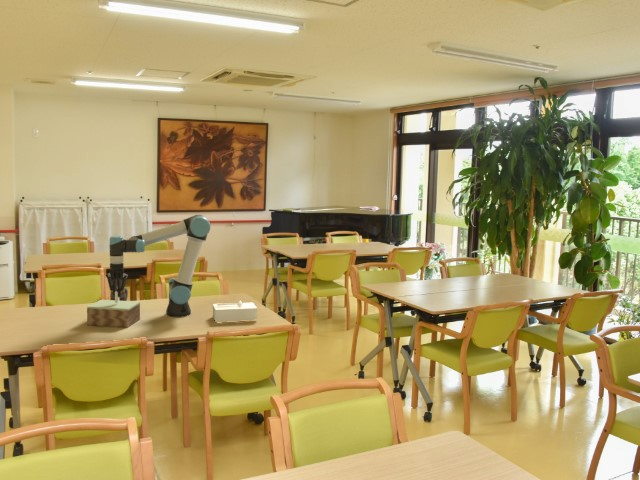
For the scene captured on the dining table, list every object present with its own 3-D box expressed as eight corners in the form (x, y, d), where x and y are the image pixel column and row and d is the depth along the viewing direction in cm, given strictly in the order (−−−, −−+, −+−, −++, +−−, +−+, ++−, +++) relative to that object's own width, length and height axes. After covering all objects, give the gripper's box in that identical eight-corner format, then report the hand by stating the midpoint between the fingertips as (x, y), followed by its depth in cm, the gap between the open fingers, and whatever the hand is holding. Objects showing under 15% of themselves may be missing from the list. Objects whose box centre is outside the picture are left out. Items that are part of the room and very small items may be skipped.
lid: (140, 303, 351) (140, 301, 351) (128, 310, 334) (128, 308, 334) (101, 301, 353) (101, 299, 353) (87, 308, 336) (87, 306, 336)
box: (140, 319, 353) (139, 303, 351) (127, 327, 335) (127, 310, 334) (101, 317, 355) (101, 301, 354) (87, 325, 337) (86, 308, 336)
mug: (121, 316, 359) (121, 292, 357) (105, 315, 361) (105, 291, 359) (134, 310, 374) (134, 287, 372) (119, 309, 376) (119, 286, 374)
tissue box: (256, 321, 357) (257, 304, 355) (215, 323, 350) (215, 306, 348) (252, 315, 371) (253, 298, 369) (212, 317, 363) (212, 300, 362)
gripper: (130, 262, 343) (130, 301, 346) (108, 261, 344) (109, 300, 347) (124, 264, 336) (125, 304, 339) (102, 263, 337) (103, 303, 340)
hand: (117, 302), depth 343 cm, fingers closed
